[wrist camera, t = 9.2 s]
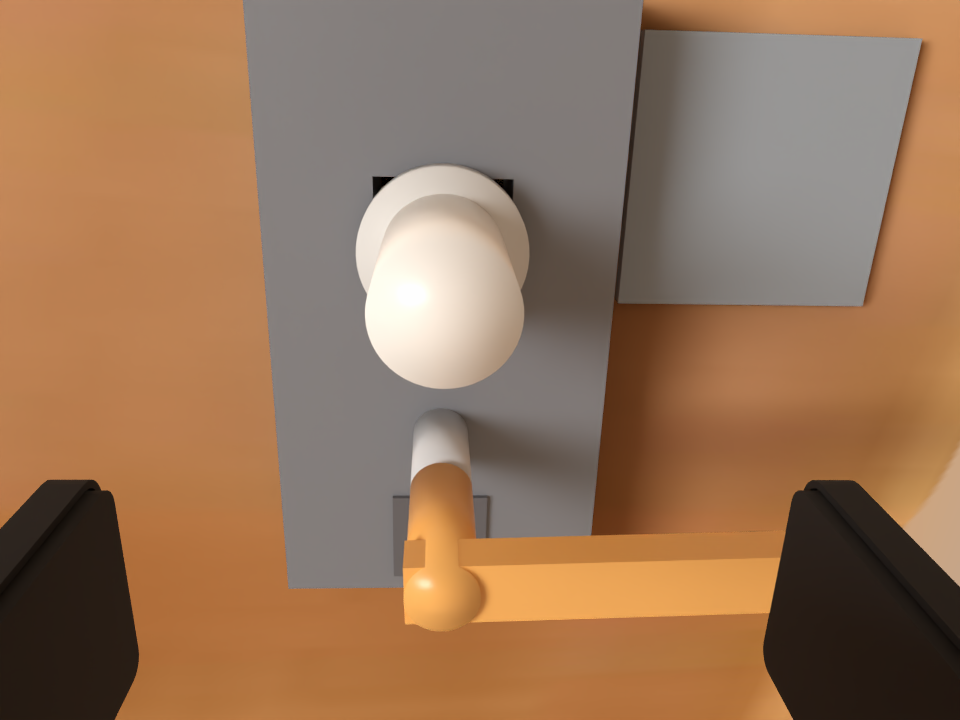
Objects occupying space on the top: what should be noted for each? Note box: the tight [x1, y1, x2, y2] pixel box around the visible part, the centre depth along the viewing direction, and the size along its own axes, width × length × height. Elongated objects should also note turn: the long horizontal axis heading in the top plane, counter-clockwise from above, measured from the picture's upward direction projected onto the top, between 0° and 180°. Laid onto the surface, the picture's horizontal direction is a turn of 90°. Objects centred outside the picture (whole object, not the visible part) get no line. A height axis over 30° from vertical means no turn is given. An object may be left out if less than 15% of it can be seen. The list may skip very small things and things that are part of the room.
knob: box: [356, 163, 529, 389], centre depth 25 cm, size 6×6×11 cm
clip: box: [403, 463, 786, 631], centre depth 23 cm, size 13×2×6 cm, turn 90°
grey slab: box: [243, 0, 643, 589], centre depth 27 cm, size 22×12×8 cm, turn 178°
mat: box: [615, 30, 922, 306], centre depth 30 cm, size 10×10×1 cm
